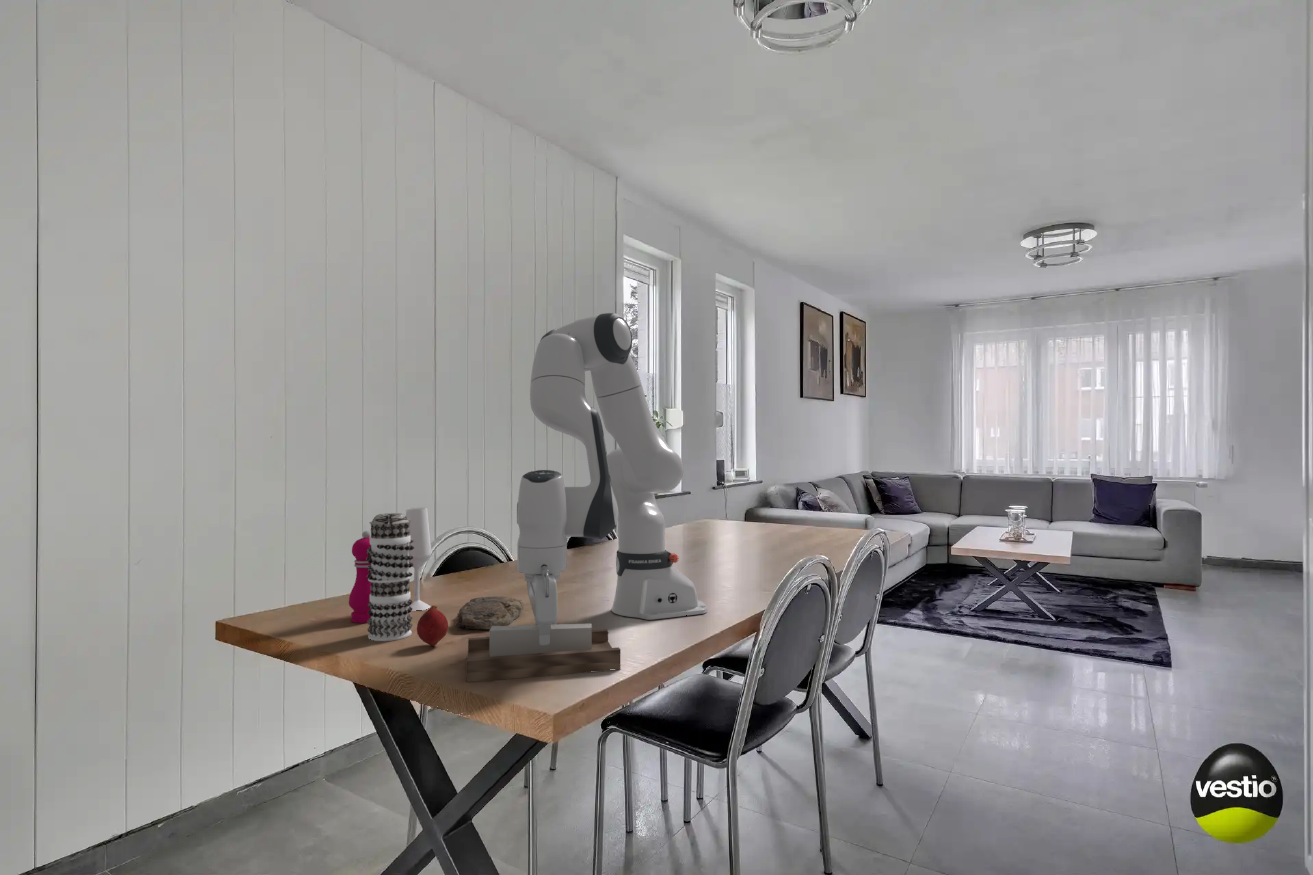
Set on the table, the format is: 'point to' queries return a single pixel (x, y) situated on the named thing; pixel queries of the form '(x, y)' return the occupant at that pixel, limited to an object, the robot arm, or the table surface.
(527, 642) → the clay strip
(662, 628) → the table surface
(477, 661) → the grooved wooden tray
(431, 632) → the onion
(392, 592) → the decorative candle
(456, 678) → the table surface
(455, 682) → the table surface
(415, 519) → the champagne flute
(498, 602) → the rough brown rock
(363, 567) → the pepper mill
